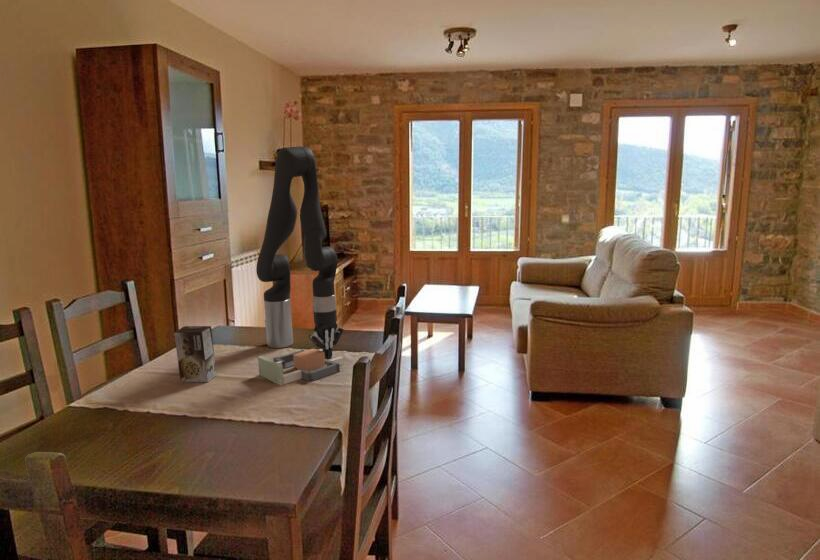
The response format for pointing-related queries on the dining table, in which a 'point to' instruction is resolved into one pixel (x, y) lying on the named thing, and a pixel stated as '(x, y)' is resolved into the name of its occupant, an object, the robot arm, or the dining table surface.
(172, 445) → the dining table surface
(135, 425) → the dining table surface
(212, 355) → the coffee box
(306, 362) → the terracotta block
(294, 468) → the dining table surface
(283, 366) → the box
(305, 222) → the robot arm
